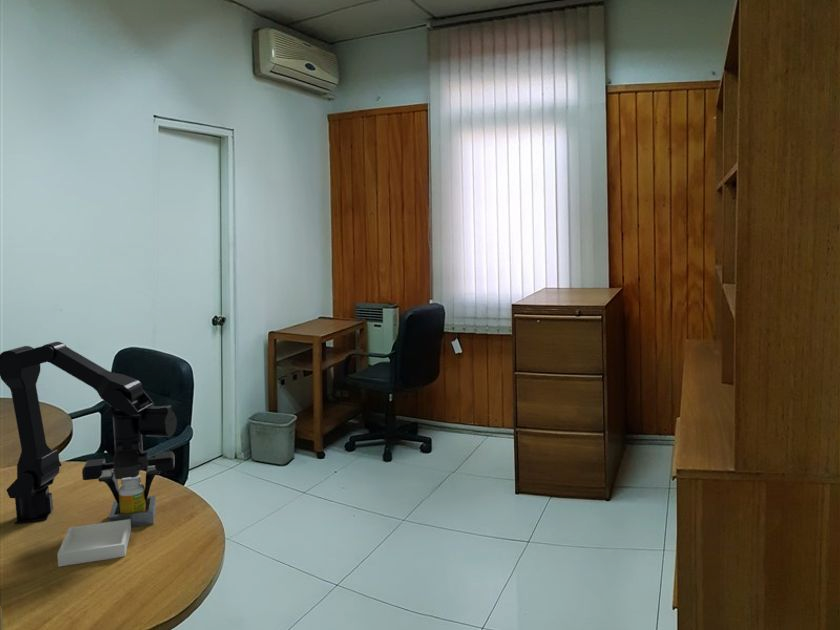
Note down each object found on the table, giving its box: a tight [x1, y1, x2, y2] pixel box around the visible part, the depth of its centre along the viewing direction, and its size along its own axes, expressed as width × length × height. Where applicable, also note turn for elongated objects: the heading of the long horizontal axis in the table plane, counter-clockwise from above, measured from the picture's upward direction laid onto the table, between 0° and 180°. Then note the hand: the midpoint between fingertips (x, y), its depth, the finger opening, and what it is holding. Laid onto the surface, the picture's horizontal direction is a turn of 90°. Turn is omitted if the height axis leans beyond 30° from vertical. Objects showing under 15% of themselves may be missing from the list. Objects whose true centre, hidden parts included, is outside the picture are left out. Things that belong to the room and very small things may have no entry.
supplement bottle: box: [119, 474, 146, 514], centre depth 145 cm, size 5×5×10 cm
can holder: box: [108, 495, 157, 528], centre depth 145 cm, size 9×9×3 cm
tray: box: [56, 519, 132, 568], centre depth 132 cm, size 12×12×3 cm
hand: (132, 501), depth 145 cm, fingers closed on supplement bottle, 5 cm apart
